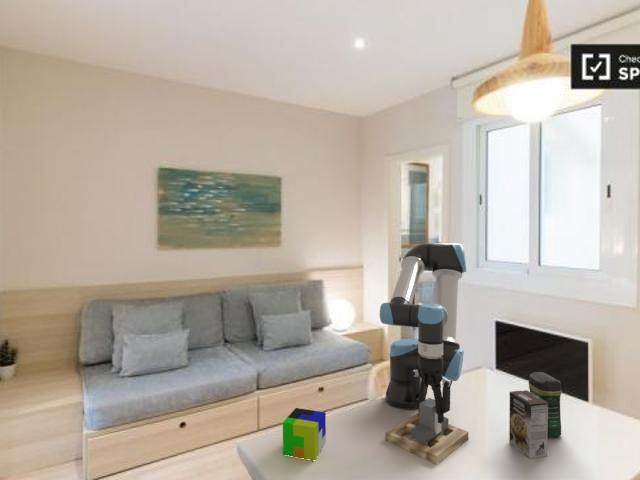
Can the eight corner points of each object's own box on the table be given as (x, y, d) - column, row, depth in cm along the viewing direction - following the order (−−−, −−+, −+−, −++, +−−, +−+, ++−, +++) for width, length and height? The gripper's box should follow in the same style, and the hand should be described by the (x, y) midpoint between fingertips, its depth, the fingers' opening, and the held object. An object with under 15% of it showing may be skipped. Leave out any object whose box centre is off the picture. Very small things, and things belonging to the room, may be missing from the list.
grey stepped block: (411, 444, 121) (411, 407, 121) (436, 428, 130) (436, 394, 130) (424, 450, 118) (424, 412, 117) (448, 433, 127) (448, 398, 127)
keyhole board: (385, 440, 125) (385, 432, 125) (418, 419, 138) (418, 412, 138) (436, 464, 112) (436, 455, 112) (468, 439, 125) (468, 431, 125)
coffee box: (508, 442, 123) (508, 391, 123) (526, 440, 125) (526, 389, 124) (529, 459, 114) (529, 404, 114) (548, 456, 116) (549, 401, 115)
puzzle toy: (325, 443, 124) (325, 412, 123) (314, 461, 114) (314, 427, 114) (296, 438, 127) (295, 407, 127) (283, 455, 118) (282, 422, 117)
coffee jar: (566, 438, 125) (566, 380, 125) (542, 439, 125) (542, 381, 124) (546, 423, 135) (547, 369, 134) (524, 424, 135) (524, 370, 134)
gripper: (400, 351, 127) (400, 423, 128) (450, 364, 114) (450, 444, 115) (413, 346, 132) (413, 415, 133) (463, 358, 120) (462, 435, 120)
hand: (430, 429), depth 124 cm, fingers closed on grey stepped block, 4 cm apart
